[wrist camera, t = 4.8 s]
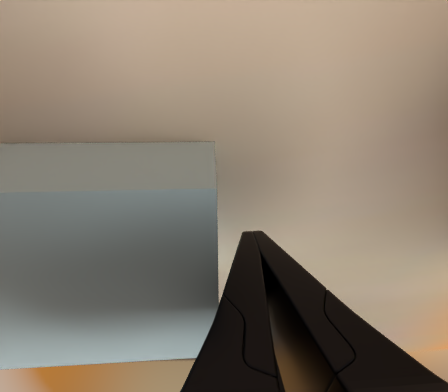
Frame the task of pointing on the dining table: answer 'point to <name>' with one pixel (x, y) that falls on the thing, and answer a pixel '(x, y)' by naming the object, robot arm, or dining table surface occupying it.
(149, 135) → the dining table surface
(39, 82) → the dining table surface
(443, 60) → the dining table surface
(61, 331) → the block
